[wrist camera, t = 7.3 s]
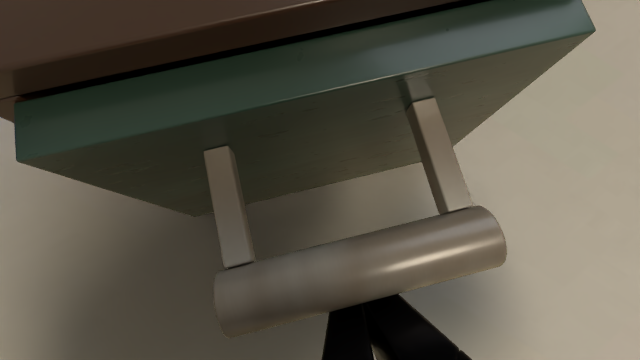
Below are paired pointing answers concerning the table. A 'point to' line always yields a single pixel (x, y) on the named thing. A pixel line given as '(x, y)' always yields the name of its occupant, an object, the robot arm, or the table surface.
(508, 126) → the table surface
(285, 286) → the drawer
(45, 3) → the cabinet
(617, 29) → the table surface
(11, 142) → the table surface
